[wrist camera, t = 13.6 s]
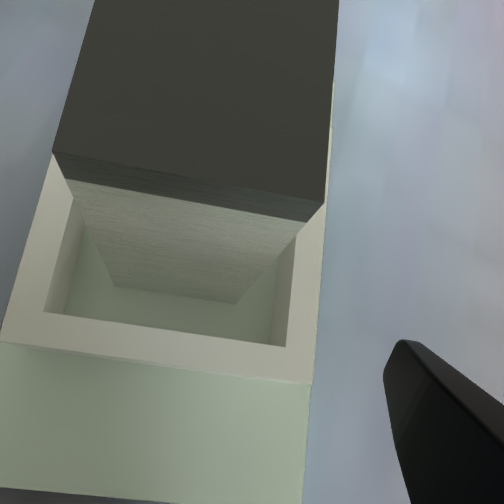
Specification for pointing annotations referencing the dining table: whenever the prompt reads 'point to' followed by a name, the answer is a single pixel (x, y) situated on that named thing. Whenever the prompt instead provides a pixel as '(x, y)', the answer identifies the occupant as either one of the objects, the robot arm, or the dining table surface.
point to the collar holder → (155, 373)
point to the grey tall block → (199, 137)
